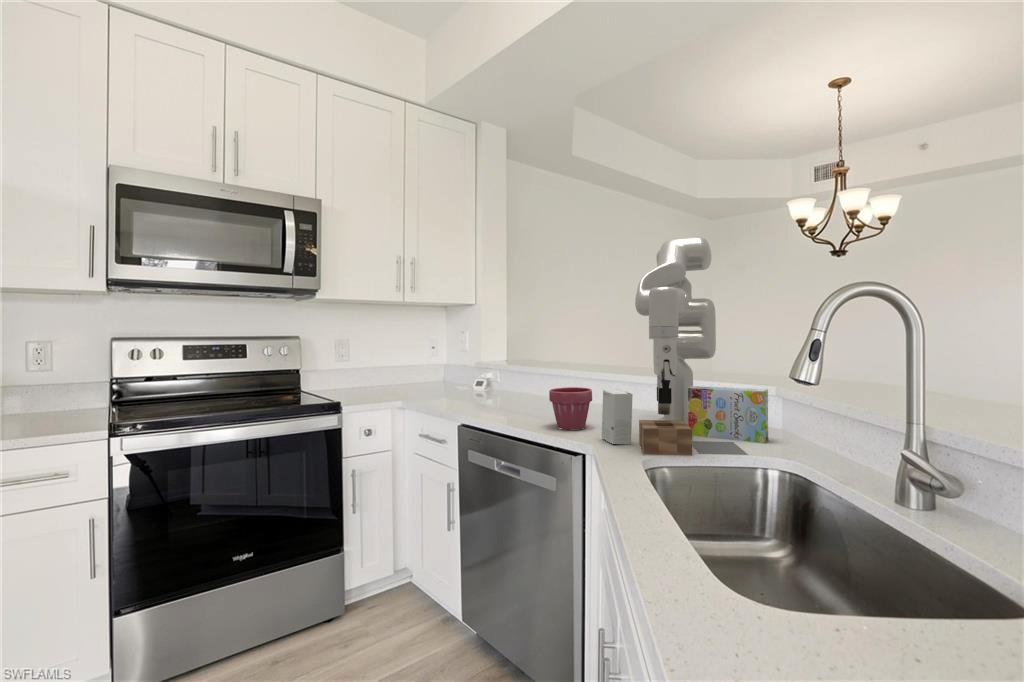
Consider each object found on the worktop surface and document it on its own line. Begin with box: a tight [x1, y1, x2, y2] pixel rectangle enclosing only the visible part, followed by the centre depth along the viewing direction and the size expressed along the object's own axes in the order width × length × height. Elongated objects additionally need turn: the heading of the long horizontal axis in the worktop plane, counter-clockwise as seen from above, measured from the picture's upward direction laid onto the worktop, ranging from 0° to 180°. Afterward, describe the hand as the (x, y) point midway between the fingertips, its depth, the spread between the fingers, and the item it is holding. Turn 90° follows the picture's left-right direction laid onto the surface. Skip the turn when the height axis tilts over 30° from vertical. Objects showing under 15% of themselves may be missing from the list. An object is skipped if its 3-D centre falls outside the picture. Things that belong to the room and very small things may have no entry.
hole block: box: [638, 419, 693, 457], centre depth 132 cm, size 12×12×7 cm
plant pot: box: [548, 386, 593, 430], centre depth 164 cm, size 14×14×13 cm
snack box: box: [688, 385, 769, 444], centre depth 144 cm, size 21×6×15 cm, turn 56°
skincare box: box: [601, 389, 633, 445], centre depth 143 cm, size 8×6×15 cm
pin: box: [657, 376, 670, 416], centre depth 131 cm, size 3×3×10 cm
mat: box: [692, 440, 749, 456], centre depth 133 cm, size 14×12×1 cm
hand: (664, 401), depth 131 cm, fingers closed on pin, 3 cm apart
